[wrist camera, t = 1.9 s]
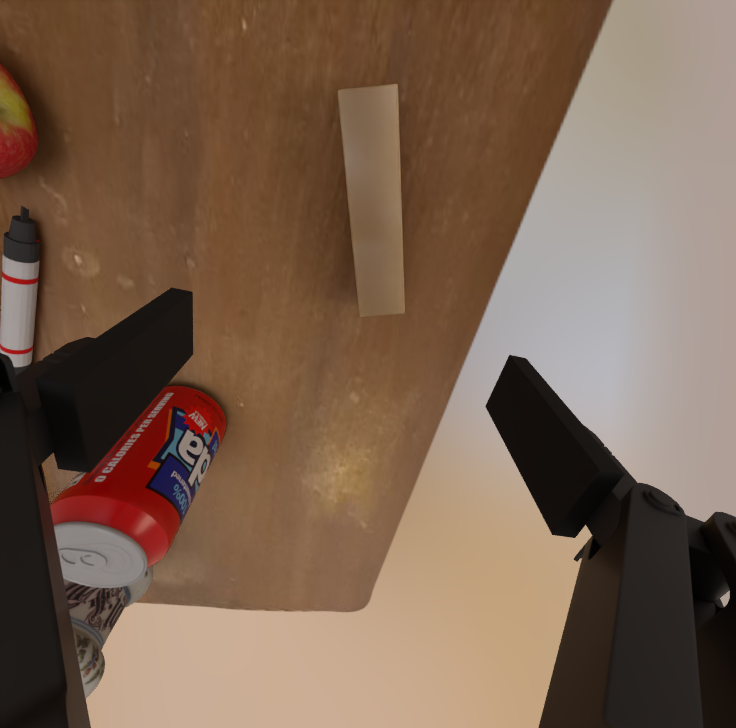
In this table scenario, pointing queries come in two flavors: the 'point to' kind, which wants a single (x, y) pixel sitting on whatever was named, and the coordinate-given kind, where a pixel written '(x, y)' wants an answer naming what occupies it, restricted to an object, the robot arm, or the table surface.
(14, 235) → the marker
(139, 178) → the table surface
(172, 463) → the soda can
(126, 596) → the apothecary jar
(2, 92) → the apple
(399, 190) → the birch block
